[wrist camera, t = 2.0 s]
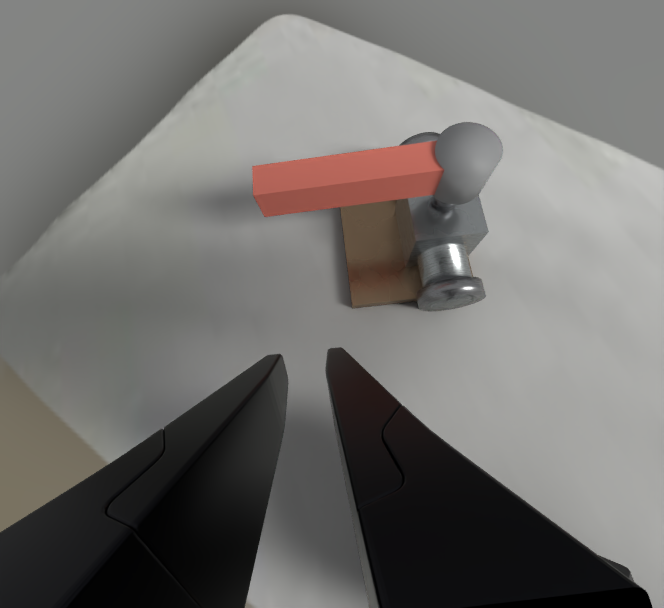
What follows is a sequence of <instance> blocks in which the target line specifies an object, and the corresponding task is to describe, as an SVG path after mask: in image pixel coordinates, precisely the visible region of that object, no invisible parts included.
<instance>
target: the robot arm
mask: <svg viewBox="0 0 664 608" xmlns="http://www.w3.org/2000/svg"><path fill="white" fill-rule="evenodd" d="M326 378H327V383H328V389H329V395H330V401H331V407H332V413H333V419H334V425H335V431H336V436H337V441H338V447H339V452H340V457H341V462H342V467H343V473H344V478H345V483H346V488H347V493H348V499H349V504H350V509H351V514H352V519H353V525H354V530H355V535H356V540H357V545H358V551H359V556H360V561H361V566H362V572H363V577H364V582H365V587H366V592H367V598H368V603H369V608H652V605H651V602H650V599H649V596H648V594H647V592H646V591H645V590H644V589H643V588H641V587H640V586H639V585H637V584H636V583H635V582H634V580H633V578H632V575H631V572H630V571H629V569H628V568H626V567H625V566H623V565H620V564H618V563H616V562H613V561H611V560H608V559H606V558H604V557H601V556H599V555H597V554H596V553H594V552H593V551H592V550H590V549H589V548H588V547H586V546H585V545H583V544H582V543H581V542H579V541H578V540H577V539H575V538H574V537H573V536H571V535H570V534H569V533H567V532H566V531H565V530H563V529H562V528H561V527H559V526H558V525H557V524H555V523H554V522H553V521H551V520H550V519H549V518H547V517H546V516H544V515H543V514H542V513H540V512H539V511H538V510H536V509H535V508H534V507H532V506H531V505H530V504H528V503H527V502H526V501H524V500H523V499H522V498H520V497H519V496H518V495H516V494H515V493H514V492H512V491H511V490H509V489H508V488H507V487H505V486H504V485H503V484H501V483H500V482H499V481H497V480H496V479H495V478H493V477H492V476H491V475H489V474H488V473H487V472H485V471H484V470H483V469H481V468H480V467H479V466H477V465H476V464H475V463H473V462H472V461H470V460H469V459H468V458H466V457H465V456H464V455H462V454H461V453H460V452H458V451H457V450H456V449H454V448H453V447H452V446H450V445H449V444H448V443H447V442H445V441H444V440H443V439H441V438H440V437H439V436H438V435H436V434H435V433H434V432H433V431H431V430H430V429H429V428H428V427H427V426H425V425H424V424H423V423H422V422H421V421H420V420H419V419H417V418H416V417H415V416H414V415H413V414H412V413H411V412H410V411H409V410H408V409H407V408H406V407H405V406H402V404H401V403H400V402H399V401H398V400H397V399H395V398H394V397H393V396H392V395H391V394H390V393H389V392H388V391H387V390H386V389H385V388H384V387H383V386H382V385H381V384H380V383H379V382H378V381H377V380H376V379H374V378H373V377H372V376H371V375H370V374H369V373H368V372H367V371H366V370H365V369H364V368H363V367H362V366H361V365H360V364H359V363H358V362H357V361H356V360H355V359H353V358H352V357H351V356H350V355H349V354H348V353H347V352H346V351H345V350H344V349H343V348H341V347H339V348H330V349H328V352H327V361H326ZM287 394H288V376H287V372H286V368H285V364H284V360H283V357H282V355H281V354H274V355H267V356H266V357H264V358H263V359H261V360H260V361H259V362H257V363H256V364H254V365H253V366H251V367H250V368H248V369H247V370H246V371H244V372H243V373H241V374H240V375H238V376H237V377H236V378H234V379H233V380H231V381H230V382H228V383H227V384H226V385H224V386H223V387H221V388H220V389H218V390H217V391H216V392H214V393H213V394H211V395H210V396H208V397H207V398H206V399H204V400H203V401H201V402H200V403H198V404H197V405H196V406H194V407H193V408H191V409H190V410H188V411H187V412H186V413H184V414H183V415H181V416H180V417H178V418H177V419H176V420H174V421H173V422H171V423H170V424H168V425H167V426H166V427H165V428H164V430H163V429H160V430H159V431H157V432H156V433H155V434H153V435H152V436H150V437H149V438H147V439H146V440H145V441H143V442H142V443H140V444H139V445H137V446H136V447H134V448H133V449H131V450H130V451H128V452H127V453H125V454H124V455H122V456H121V457H119V458H118V459H116V460H115V461H113V462H112V463H110V464H108V465H107V466H105V467H104V468H102V469H101V470H99V471H97V472H96V473H94V474H93V475H91V476H90V477H88V478H86V479H85V480H84V481H82V482H80V483H79V484H77V485H75V486H74V487H72V488H71V489H69V490H67V491H66V492H64V493H63V494H61V495H59V496H58V497H56V498H55V499H53V500H51V501H50V502H48V503H46V504H45V505H43V506H42V507H40V508H39V509H37V510H35V511H34V512H32V513H30V514H29V515H27V516H26V517H24V518H23V519H21V520H19V521H18V522H16V523H14V524H13V525H11V526H10V527H8V528H6V529H5V530H3V531H2V532H0V608H245V604H246V599H247V595H248V590H249V586H250V581H251V577H252V572H253V568H254V563H255V559H256V554H257V550H258V545H259V541H260V536H261V532H262V527H263V523H264V518H265V514H266V509H267V505H268V500H269V496H270V492H271V487H272V483H273V478H274V474H275V469H276V465H277V460H278V456H279V451H280V447H281V442H282V438H283V433H284V426H285V416H286V405H287Z"/></svg>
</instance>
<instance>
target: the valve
mask: <svg viewBox="0 0 664 608" xmlns="http://www.w3.org/2000/svg"><path fill="white" fill-rule="evenodd" d="M439 136H440V134H438V133H434V132H425V133H420V134H417V135H414V136H412V137H410V138H408V139H407V140H405V141H404V142H402V143H401V144H400V145H399V146H402V145H409V144H416V143H423V142H430V141H437V140H438V138H439ZM340 210H341V219H342V227H343V235H344V243H345V252H346V260H347V268H348V277H349V285H350V293H351V301H352V308H361V307H369V306H378V305H387V304H395V303H404V302H413V301H417V302H418V307H419V309H420V310H423V311H441V310H449V309H455V308H459V307H463V306H467V305H470V304H473V303H476V302H478V301H480V300H482V299H484V298H485V297H486V294H485V291H484V287H483V283H482V280H481V279H480V278H477V277H473V275H472V271H471V267H470V263H469V259H468V256H469V254H470V253H471V252H472V251H473V250H474V249H475V247H476V246H477V245H478V244H479V243H480V241H481V240H482V239H483V238H484V237H485V236H486V234H487V233H488V232H489V231H488V228H487V224H486V220H485V217H484V213H483V209H482V206H481V202H480V198H479V195H478V196H477V197H476V198H475V199H473V200H472V201H470V202H468V203H465V204H460V205H451V204H446V203H443V202H441V201H439V200H437V199H436V198H434V197H433V196H432V195H429V196H421V197H413V198H406V199H398V200H390V201H383V202H375V203H367V204H360V205H352V206H344V207H340Z"/></svg>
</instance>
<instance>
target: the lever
mask: <svg viewBox="0 0 664 608" xmlns="http://www.w3.org/2000/svg"><path fill="white" fill-rule="evenodd" d="M502 154H503V146H502V143H501V140H500V138H499V137H498V136H497V134H496V133H495V132H494V131H492V130H491V129H490V128H488V127H486V126H484V125H481V124H478V123H472V122H464V123H458V124H455V125H452V126H450V127H448V128H447V129H445V130H444V131H443V132H442V133H441V134H440V136H439V138H438V140H437V141H430V142H423V143H416V144H409V145H402V146H394V147H387V148H380V149H373V150H366V151H358V152H351V153H344V154H337V155H330V156H323V157H315V158H308V159H301V160H294V161H287V162H279V163H272V164H265V165H258V166H252V169H253V196H254V198H255V200H256V202H257V203H258V205H259V207H260V209H261V211H262V213H263V215H264V217H268V216H276V215H283V214H291V213H299V212H306V211H314V210H321V209H329V208H337V207H344V206H352V205H360V204H367V203H375V202H383V201H390V200H398V199H406V198H413V197H421V196H429V195H432V196H433V197H434V198H436V199H437V200H439V201H441V202H443V203H446V204H451V205H460V204H465V203H468V202H470V201H472V200H473V199H475V198H476V197H477V196H478V195H479V193H480V192H481V190H482V189H483V187H484V185H485V184H486V182H487V181H488V179H489V178H490V176H491V174H492V173H493V171H494V170H495V168H496V166H497V165H498V163H499V162H500V160H501V158H502Z"/></svg>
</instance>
